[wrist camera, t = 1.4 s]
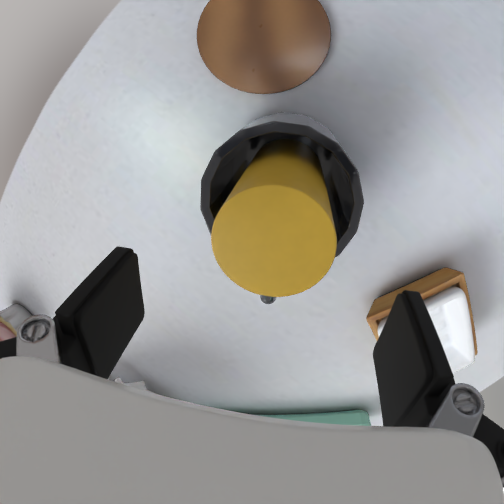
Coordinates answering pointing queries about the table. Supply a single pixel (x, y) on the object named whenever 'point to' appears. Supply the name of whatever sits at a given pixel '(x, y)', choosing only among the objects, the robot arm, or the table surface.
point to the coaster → (263, 42)
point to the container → (330, 417)
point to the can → (277, 223)
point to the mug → (296, 128)
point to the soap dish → (438, 314)
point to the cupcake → (12, 320)
